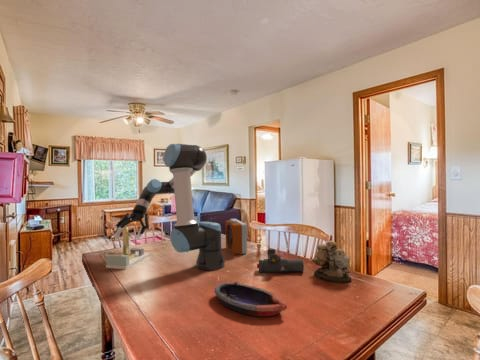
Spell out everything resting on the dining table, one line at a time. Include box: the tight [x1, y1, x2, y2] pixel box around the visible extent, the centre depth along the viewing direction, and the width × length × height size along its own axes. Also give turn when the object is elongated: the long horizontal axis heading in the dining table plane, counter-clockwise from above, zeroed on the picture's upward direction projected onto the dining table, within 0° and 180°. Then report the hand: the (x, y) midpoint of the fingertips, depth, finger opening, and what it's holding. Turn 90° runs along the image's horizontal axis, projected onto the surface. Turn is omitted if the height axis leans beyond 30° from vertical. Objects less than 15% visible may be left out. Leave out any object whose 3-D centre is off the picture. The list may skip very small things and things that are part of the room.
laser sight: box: [256, 248, 305, 274], centre depth 135 cm, size 10×22×10 cm, turn 90°
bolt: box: [121, 226, 135, 260], centre depth 150 cm, size 12×3×18 cm, turn 168°
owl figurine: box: [311, 240, 352, 284], centre depth 127 cm, size 18×12×17 cm, turn 53°
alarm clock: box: [225, 218, 248, 256], centre depth 172 cm, size 18×9×21 cm, turn 17°
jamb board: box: [105, 247, 150, 270], centre depth 153 cm, size 22×12×6 cm, turn 168°
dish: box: [214, 281, 288, 317], centre depth 100 cm, size 16×31×5 cm, turn 50°
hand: (126, 238), depth 151 cm, fingers open, 13 cm apart
